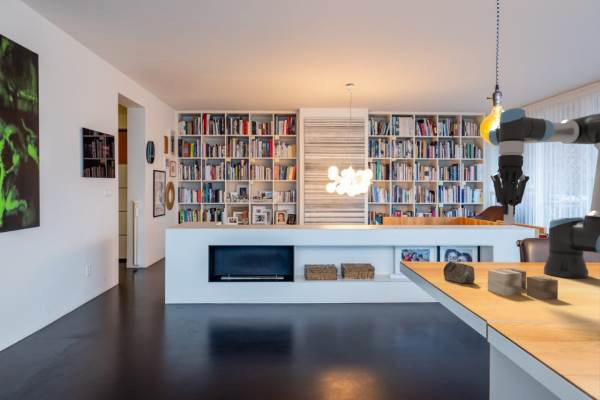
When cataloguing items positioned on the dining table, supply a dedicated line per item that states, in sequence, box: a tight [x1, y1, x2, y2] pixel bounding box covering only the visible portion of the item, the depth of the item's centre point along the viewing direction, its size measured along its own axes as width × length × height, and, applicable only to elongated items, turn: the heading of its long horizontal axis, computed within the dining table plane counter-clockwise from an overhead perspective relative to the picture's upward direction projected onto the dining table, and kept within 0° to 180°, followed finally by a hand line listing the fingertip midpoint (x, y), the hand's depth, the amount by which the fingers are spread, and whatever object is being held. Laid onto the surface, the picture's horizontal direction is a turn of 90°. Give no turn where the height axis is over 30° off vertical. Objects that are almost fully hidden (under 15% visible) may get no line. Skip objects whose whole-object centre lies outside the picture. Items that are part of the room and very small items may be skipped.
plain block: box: [487, 268, 522, 297], centre depth 133 cm, size 7×7×7 cm
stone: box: [443, 260, 476, 284], centre depth 150 cm, size 7×12×7 cm, turn 33°
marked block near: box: [505, 267, 527, 290], centre depth 141 cm, size 6×6×6 cm
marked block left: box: [525, 275, 559, 301], centre depth 127 cm, size 6×6×6 cm
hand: (508, 224), depth 136 cm, fingers closed
